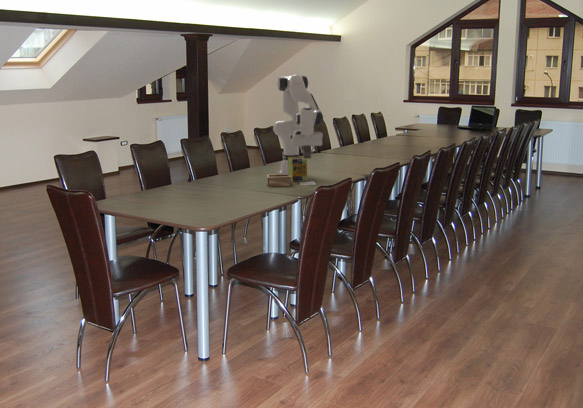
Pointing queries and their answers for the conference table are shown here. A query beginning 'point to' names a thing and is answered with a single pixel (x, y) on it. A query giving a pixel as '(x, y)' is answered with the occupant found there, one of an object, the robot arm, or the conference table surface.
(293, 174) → the protein box
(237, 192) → the conference table surface
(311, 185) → the felt pad
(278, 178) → the brown wooden open box
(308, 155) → the capped block
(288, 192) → the conference table surface
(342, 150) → the conference table surface
